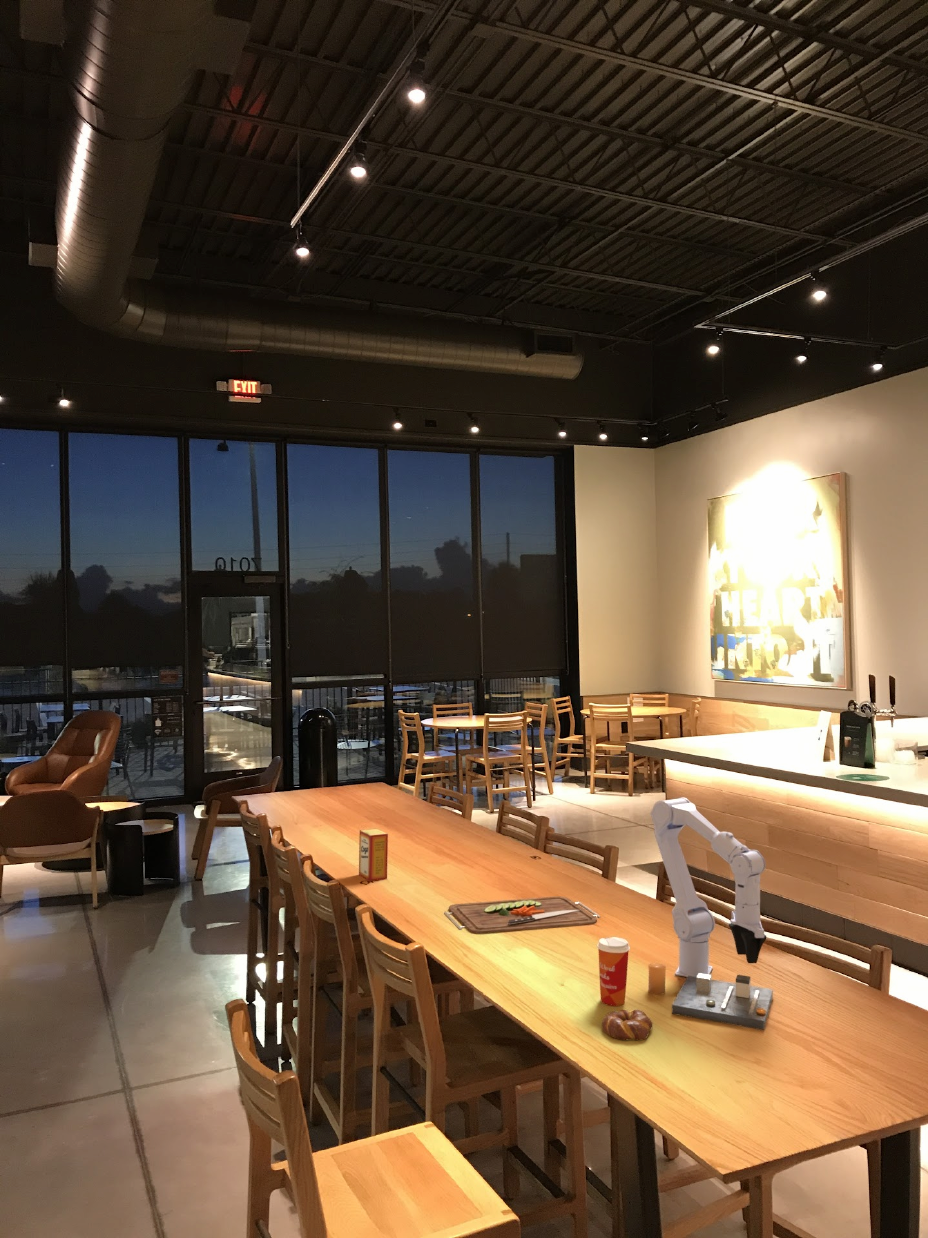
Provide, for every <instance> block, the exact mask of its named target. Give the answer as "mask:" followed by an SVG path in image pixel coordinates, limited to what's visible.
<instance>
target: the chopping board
mask: <svg viewBox="0 0 928 1238" xmlns="http://www.w3.org/2000/svg"><path fill="white" fill-rule="evenodd" d="M448 910H449V912H447V911H444V912H443V913H444V915H445V916H446V917H447V918H448V919H449V920H450V921H451V922H452V923H453V924H454V925H455V926H456V928H457V929H459V931H460V930H463V929H466V930H467V931H468V932H470V933H472V934H478V935H481V934H482V935H483V934H484V935H485V934H495V933H496V934H497V933H508V932H522V931H529V930H530V931H531V930H543V929H552V928H565V927H576V926H588V925H595V924H597V923H598V919H600V918H601V915H599V914H598V913H597V912H595V911H593V909H591V908H589V907H588V906H586V905H585V904H583V903H582V902H580V901H579V900H577V901H576V902H575V901H573V900H572V899H570V898H568V897H565V896H546V897H544V896H543V897H532V898H531V897H530V898H522V899H521V898H518V899H508V900H507V899H506V900H494V901H482V902H481V901H480V902H478V901H477V902H466V903H455V904H451V905H449V906H448ZM451 915H453V916H454V917H455V918H456V919H457V921H459V923H460V924H461V925H462V926H461V925H460V924H459V923H457V921H456V920H455V919H454V918H453V917H452V916H451Z"/></svg>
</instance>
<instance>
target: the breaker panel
mask: <svg viewBox="0 0 928 1238" xmlns="http://www.w3.org/2000/svg"><path fill="white" fill-rule="evenodd" d="M773 992H774V989H773V988H769V987H768V988H767V987H762V986H761V987H760V986H755V985H750V996H749V998H744V997H738V996H736V982H730V981H723V980H717V979H713V978H712V974H710V975H708V974H701V973H698V975H697V977H693V976H687V977H686V978H685V980H684V982H683V984H682V986H681V988H680V990H679V992H678V993H677V995H676V997H675V999H674V1001H673V1002H672V1004H671V1006H672V1007H671V1014H672V1015H676V1016H677V1015H678V1016H684V1017H689V1018H695V1019H698V1020H704V1021H705V1020H706V1021H711V1022H715V1023H716V1022H717V1023H723V1024H728V1025H733V1026H740V1027H745V1028H750V1029H757V1030H760V1031H764V1030H765V1027H766V1024H767V1020H768V1016H769V1013H770V1008H771V1005H772V1002H773V997H774V995H773Z"/></svg>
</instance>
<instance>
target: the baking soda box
mask: <svg viewBox="0 0 928 1238" xmlns="http://www.w3.org/2000/svg"><path fill="white" fill-rule="evenodd" d="M388 836H389V834H388V833H387V832H385V831H382V830H380V829H378V828H372V829H371V828H369V829H361V830H360V829H359V838H358V839H359V844H358V845H359V847H358V849H359V851H358V853H359V854H358V856H359V857H358V875H359V876H360V877H362V878H364V879H365V880H366V881H369V882H374V881H382V880H383V881H384V880H388V849H389V848H388V843H389V839H388V838H389V837H388Z"/></svg>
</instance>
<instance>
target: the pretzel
mask: <svg viewBox="0 0 928 1238" xmlns="http://www.w3.org/2000/svg"><path fill="white" fill-rule="evenodd" d="M601 1028H602V1030H603V1032H604V1033H606V1034H607V1035H609V1036H610V1037H612V1038H613V1039H617V1040H620V1041H631V1040H634V1041H641V1040H642V1041H643V1040H646V1038H647V1037H648V1036H649V1032H650V1031H651V1030H652V1029H653V1021H652V1020H651V1018H649V1016H648V1015H647V1014H646V1013H645V1012H644V1011H643V1010H640V1009H634V1010H632V1011H629V1010H628V1009H627V1010H626V1009H621V1010H618V1011H610V1012H608V1013H607V1014H605V1016H604V1018H603V1020H602V1023H601Z"/></svg>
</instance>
